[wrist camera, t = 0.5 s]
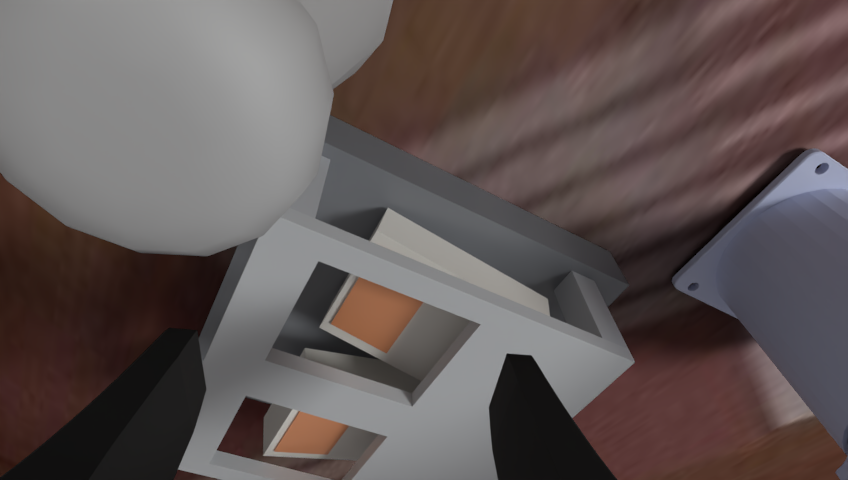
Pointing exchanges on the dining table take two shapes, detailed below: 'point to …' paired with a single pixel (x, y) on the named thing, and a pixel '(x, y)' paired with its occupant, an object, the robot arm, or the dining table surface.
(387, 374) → the rocker far
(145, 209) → the salt shaker
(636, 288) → the dining table surface
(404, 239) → the rocker near
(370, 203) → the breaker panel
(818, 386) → the robot arm
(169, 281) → the dining table surface
